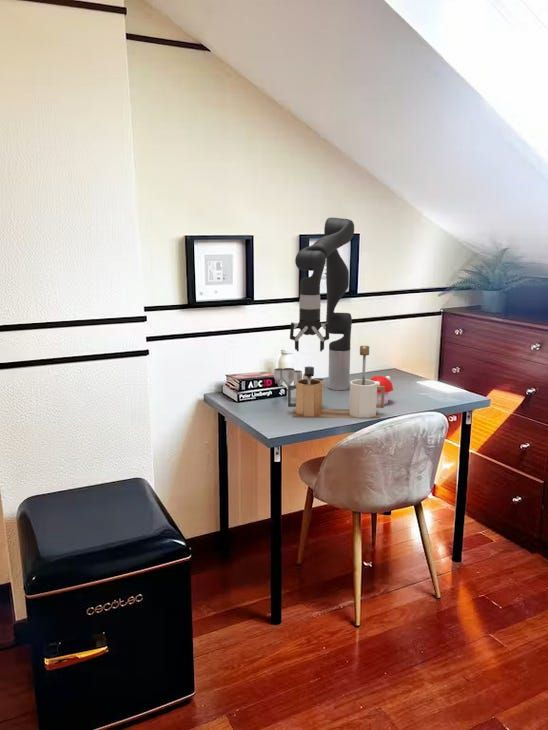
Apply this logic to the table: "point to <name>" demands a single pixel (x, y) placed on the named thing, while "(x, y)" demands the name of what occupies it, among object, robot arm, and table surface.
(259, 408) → the table surface
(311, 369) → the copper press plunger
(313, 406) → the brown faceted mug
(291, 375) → the goblet set
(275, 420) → the table surface
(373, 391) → the cream press
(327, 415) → the board
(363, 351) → the brown plunger
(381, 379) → the mushroom
